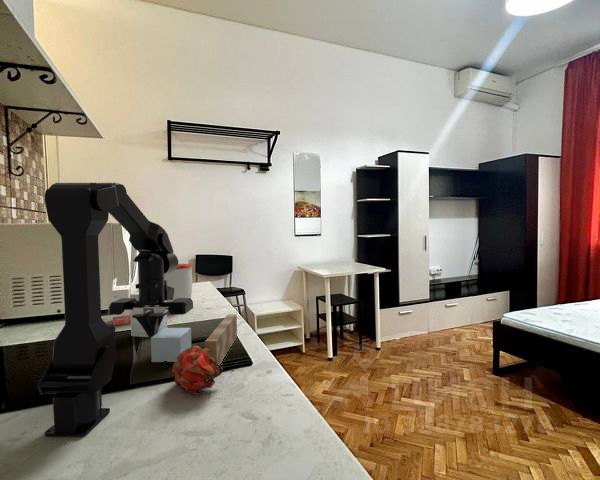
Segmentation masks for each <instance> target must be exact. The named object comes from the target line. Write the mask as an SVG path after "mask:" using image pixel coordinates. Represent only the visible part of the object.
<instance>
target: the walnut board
mask: <svg viewBox="0 0 600 480" xmlns="http://www.w3.org/2000/svg"><path fill="white" fill-rule="evenodd" d="M236 338H237V339H238V317H237V314H234V313H233V314H231V313H229V314H227V315H226V316H225V318H224V319H223V320H221V322H220V323H219V324H218V326H217V327H216V328H215V329H214V330H213V331H212V333H210V335H209V336H208V337H207V339H206V340H205V341H204V347H205V348H207V349H209V350H210V352H209V354H208V355H211V356H213V357H214V358H215V363H217V364H218V365H219V366H220V364H221V363H222V361H223V359H224V357H225V356H226V354H227V352H228V351H229V349H230V347H231V346H232V344H233V343H234V341H235V340H236V341H237V339H236ZM236 341H235V342H236ZM234 344H235V343H234ZM234 344H233V345H234ZM232 347H233V346H232ZM230 350H231V349H230ZM229 352H230V351H229ZM227 355H228V354H227ZM226 357H227V356H226ZM224 360H225V359H224ZM223 362H224V361H223ZM222 364H223V363H222ZM222 364H221V365H222ZM213 365H214V366H215V367H217V368H218V367H219V366H217V365H215V364H214V363H213ZM220 367H221V366H220Z"/></svg>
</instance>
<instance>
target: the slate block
mask: <svg viewBox="0 0 600 480" xmlns="http://www.w3.org/2000/svg"><path fill="white" fill-rule="evenodd" d="M191 347H192V328H191V327H167V328H164V329H162V330H161V331H159V332H158V333H157V334H155V335H154V336H153V337H151V340H150V353H151V363H165V362H164V361H167V362H166V363H176V362H177V357H178V356H179V354H180V353H182V352H183V351H185V350H186V349H187V348H191Z"/></svg>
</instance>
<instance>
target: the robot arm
mask: <svg viewBox="0 0 600 480" xmlns="http://www.w3.org/2000/svg"><path fill="white" fill-rule="evenodd" d="M44 204H45V210H46V215H47V219H48V221H49V223H50V224H51V225H52V226H53V228H54V229H55V230H56V232H57V233H58V234H59V236H60V239H61V255H62V256H61V259H62V278H63V279H62V280H63V281H62V282H63V284H62V285H63V302H64V303H63V304H64V305H63V306H64V325H63V327H62V329H61V330H60V332H59V333H58V335H57V336H56V338H54V339H55V340H54V342H53V348H52V350H53V352H52V357H51V358H50V360H49V361H48V362H47V363H48V364H47V365H46V368H45V369H44V370H43V372H42V373H41V376H40V378H39V380H38V381H37V383H36V388H37V390H38V393H39V394H40V395H51V394H52V395H53V396H52V407H53V408H52V410H53V413H52V414H53V424H52V426H51V427H49V428H48V429H46V430H45V431H44V436H45V437H85V436H86V435H87V434H88V433H90V431H92V429H93V428H94V427H96V426H97V425H98V424H99V423H100V422H101V421H102V420H103V419H104V418H105V417H106V416H107V415H108V414H110V413H111V408H109V407H103V402H102V400H103V399H102V388H103V387H105V386H106V385H107V384H108V383H109V382H110V381H112V379H113V374H114V368H115V367H114V366H115V360H116V356H117V355H116V354H117V350H116V347H117V341H116V327H115V325H113V323H110V324H109V323H106V322H105V321H104V319H103V318H102V308H101V307H102V305H101V304H102V303H101V301H102V300H101V279H100V278H101V276H100V274H101V273H100V255H99V254H100V252H99V248H100V247H99V235H100V234H101V232H102V231H103V229H104V227H105V226H106V225H107V223H108V222H109V215H111V216H112V217H113V218H114V219H115V220H116V221H117V223H118V224H119V225H121V227H123V229H124V230H125V231H127V233H128V234H129V239H128V242H130V244H131V246H132V247H133V249H134V250H135V251H137V252H138V254H137V255H136V256H135V257H134V258H133V262H134V263H137V274H138V275H137V276H138V283H135V289H136V290H138V292H139V300H138V301H137V300H136V299H135V298H121V299H119V300H117V301H114V302H112V301H111V303H110V304H109V306H108V309H107V310H108V315H109V316H111V315H112V316H113V315H120V314H122V313H123V312H124V311H125V310H134V315H133V316H132V318H136V319H137V321H138V322H139V323H140V324H141V326H142V327H143V329H144V330H145V332H146V334H147V335H148V337H147V338H148V339H149V340H150V341H151V337H153V336H154V335H155V334H157V333H158V330H159V327H160V325H161V322H162V320H163V318H164V316H165V315H167V316H168V314H171V315H178V316H179V315H186V314H187V313H189V312H190V311H191V310H192V309H194V301H193V299H192V297H191V298H176V299H175V300H173V298H174V290H175V288H173V287H170V286H167V282H166V280H164V274H166V273H168V272H171V271H173V270H175V269H176V268H177V266H178V264H179V259H178V256H177V255H176V254H175V253H174V248H173V246H172V243H171V240H170V237H169V234H168V233H167V231H166V230H165V228H163V227H162V226H161V225H160V224H158V223H157V222H152V221H150V220H149V219H148V218H147V217H146V215H144V213H143V212H142V211H141V209H140V208H139V207H138V205H137V204H136V203H135V202H134V201H133V199H132V198H131V197H130V195H128V193H127V189H126V186H125V185H123V184H122V183H119V182H55V183H53V184H51V185H50V186H49V187H48V188H46V190H45V192H44ZM165 300H173V301H171V302H165ZM155 305H156V306H155ZM158 305H159V306H158ZM87 374H88V375H87ZM70 375H71V376H70ZM73 375H75V376H73ZM77 375H78V376H77ZM81 375H82V376H81Z"/></svg>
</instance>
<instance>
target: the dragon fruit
mask: <svg viewBox="0 0 600 480" xmlns="http://www.w3.org/2000/svg"><path fill="white" fill-rule="evenodd" d="M209 352H210V350H209V349H207V348H204V347H203V348H201V347H200V346H199V345H193V346H192V345H191V348H187V349H186V350H185V351H183V352H182V353H180V354H179V356H178V357H177V362H173V365H172V370H171V372H172V373H174V375H175V376H174V383H175V386H176V388H177V389H179V390H180V389H181V388H182V387H183V388H185V389H186V391H187V392H189V393H190V394H191V395H196V396H197V395H203V393H202V392H201V388H203V389H212V387H213V386H214V385H215V384H216V381H215V380H214V379H216V378H218V377H219V376H221V375H222V373H223V369H224V368H223V366H220V368H217V367H215V366H214V365H213V363H214V364H215V365H217V366H219V365H218V364H217V363H215V358H214V357H213V356H211V355H208V354H209Z"/></svg>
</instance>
